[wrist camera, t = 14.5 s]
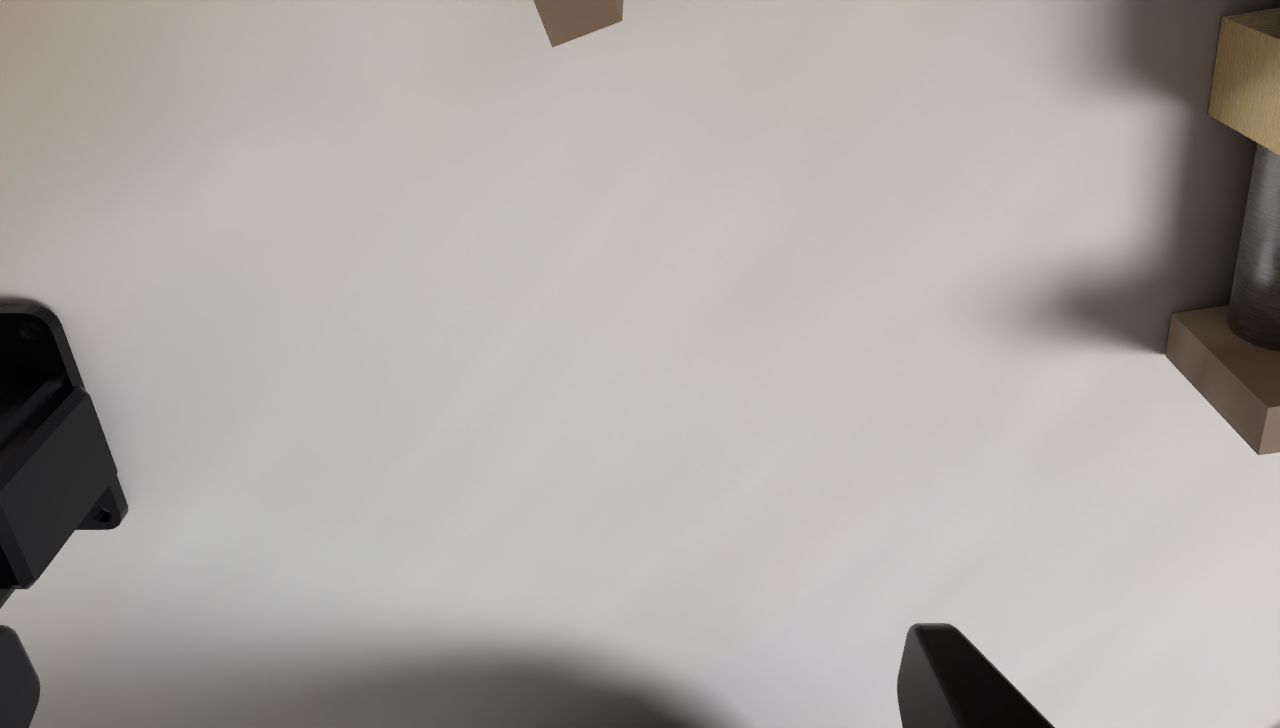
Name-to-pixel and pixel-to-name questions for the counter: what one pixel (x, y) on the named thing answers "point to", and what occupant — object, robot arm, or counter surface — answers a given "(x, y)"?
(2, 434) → the robot arm
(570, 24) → the shaft
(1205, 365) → the shaft
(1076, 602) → the counter surface
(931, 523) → the counter surface
